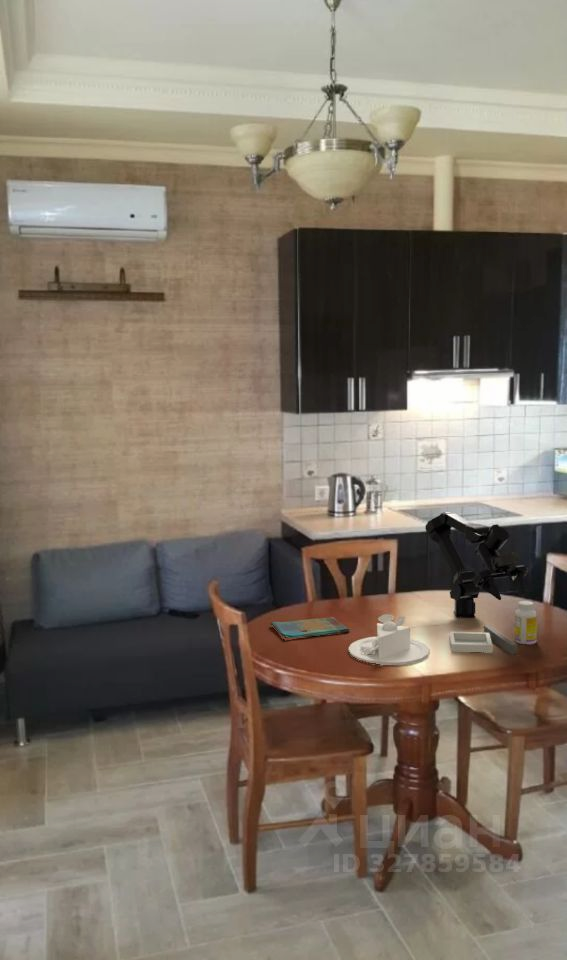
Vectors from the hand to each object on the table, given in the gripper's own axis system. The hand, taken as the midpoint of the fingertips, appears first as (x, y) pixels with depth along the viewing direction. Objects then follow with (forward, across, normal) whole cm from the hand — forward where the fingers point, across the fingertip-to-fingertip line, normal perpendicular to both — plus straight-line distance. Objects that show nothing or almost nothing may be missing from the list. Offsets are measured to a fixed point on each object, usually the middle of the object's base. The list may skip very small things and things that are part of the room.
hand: (512, 597), depth 258 cm
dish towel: (-16, -56, +35) cm, 68 cm away
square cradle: (+11, -18, +7) cm, 22 cm away
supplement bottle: (+14, 0, +4) cm, 15 cm away
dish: (+6, -43, +13) cm, 46 cm away
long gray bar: (+12, -8, +6) cm, 16 cm away
